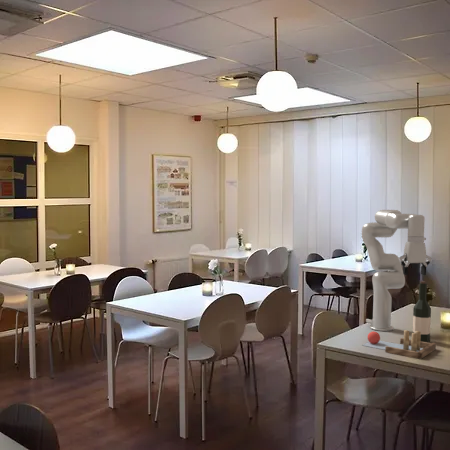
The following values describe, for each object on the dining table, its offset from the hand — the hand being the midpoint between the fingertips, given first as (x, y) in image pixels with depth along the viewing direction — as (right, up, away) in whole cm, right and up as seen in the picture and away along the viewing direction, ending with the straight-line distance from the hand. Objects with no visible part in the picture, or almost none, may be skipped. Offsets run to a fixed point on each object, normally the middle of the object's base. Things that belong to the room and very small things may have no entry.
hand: (414, 274), depth 266 cm
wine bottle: (+6, -34, +8) cm, 36 cm away
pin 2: (-2, -35, -10) cm, 36 cm away
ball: (-20, -31, +1) cm, 37 cm away
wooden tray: (-6, -35, -10) cm, 37 cm away
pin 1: (-5, -35, -14) cm, 38 cm away
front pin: (-7, -35, -9) cm, 37 cm away
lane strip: (-11, -35, -6) cm, 37 cm away
